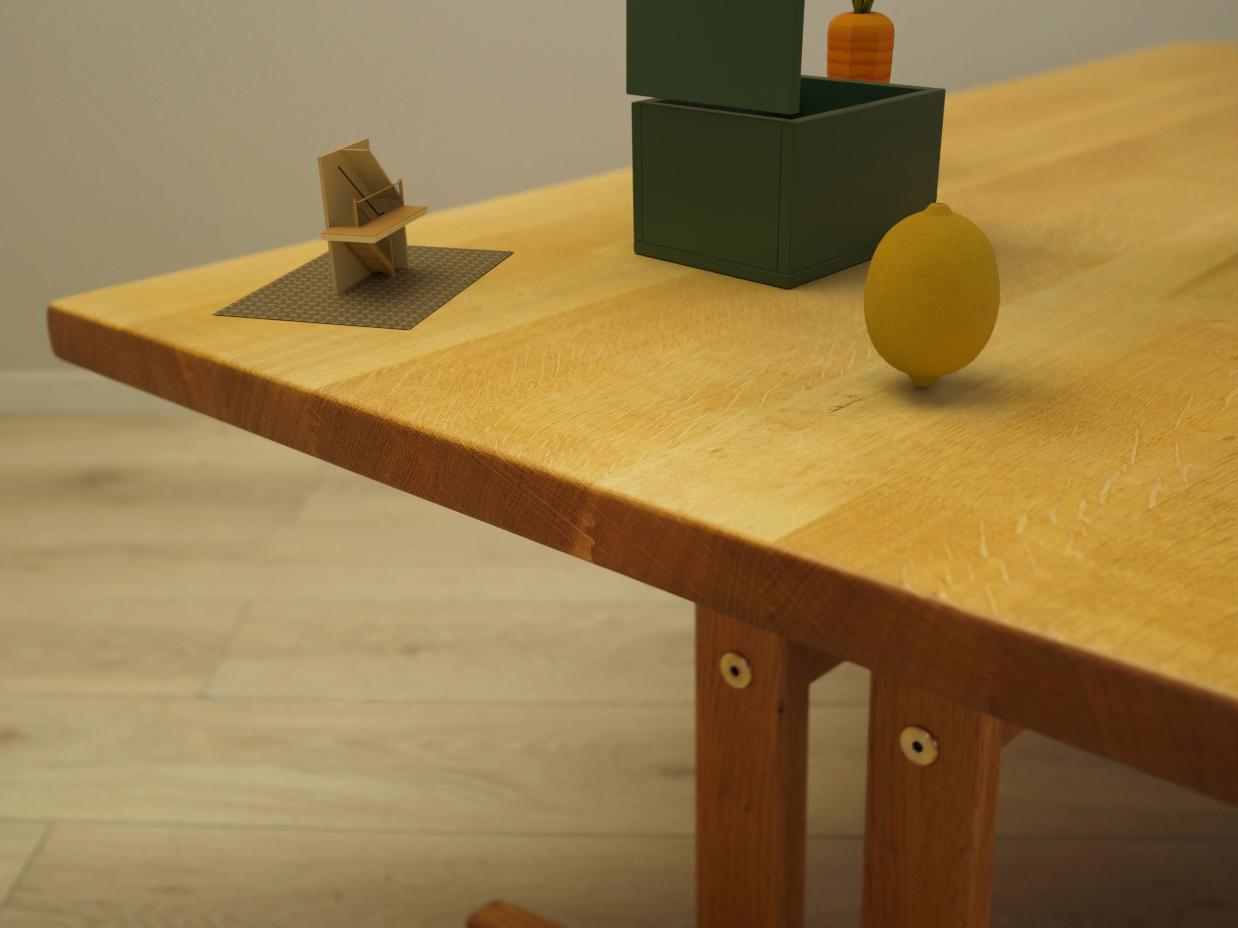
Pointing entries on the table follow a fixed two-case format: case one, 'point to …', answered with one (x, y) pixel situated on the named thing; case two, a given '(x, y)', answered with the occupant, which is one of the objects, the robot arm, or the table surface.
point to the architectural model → (366, 257)
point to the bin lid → (716, 52)
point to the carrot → (860, 44)
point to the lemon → (932, 294)
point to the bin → (784, 178)
